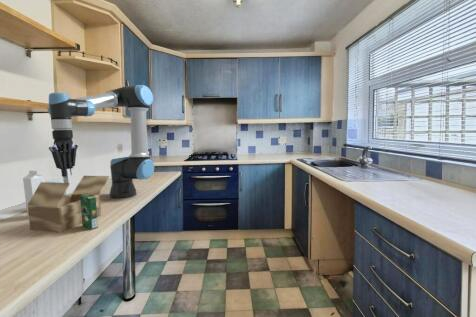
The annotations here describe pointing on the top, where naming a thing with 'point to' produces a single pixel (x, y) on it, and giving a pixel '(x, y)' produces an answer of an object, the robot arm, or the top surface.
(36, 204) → the flap
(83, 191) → the flap
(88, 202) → the coffee box
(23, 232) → the top surface
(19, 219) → the top surface
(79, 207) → the carton
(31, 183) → the milk
